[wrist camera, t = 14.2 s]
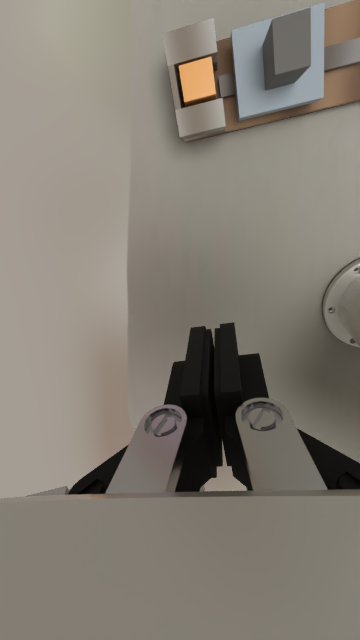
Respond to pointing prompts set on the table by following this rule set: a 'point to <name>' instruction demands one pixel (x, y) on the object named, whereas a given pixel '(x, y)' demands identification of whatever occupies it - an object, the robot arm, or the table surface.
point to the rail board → (221, 114)
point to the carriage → (279, 62)
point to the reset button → (198, 82)
